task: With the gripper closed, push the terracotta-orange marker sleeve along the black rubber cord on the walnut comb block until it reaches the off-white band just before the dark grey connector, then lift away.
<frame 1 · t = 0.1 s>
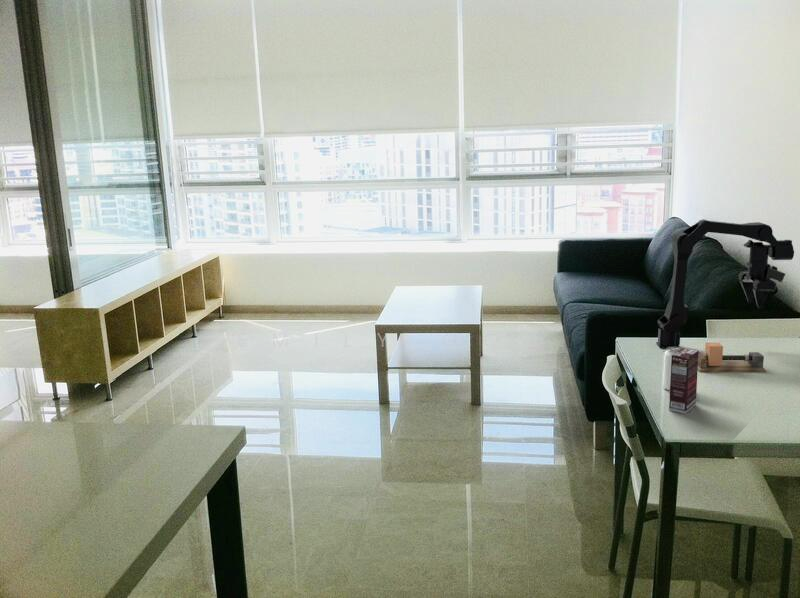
hand: (754, 305, 257), 15 cm above the table, tool pointing down, fingers open, 9 cm apart
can: (674, 389, 221), on the table
comb rail: (727, 367, 239), on the table
sleeve: (713, 354, 238), point 4 cm above the table, slide at 0.0 cm
supplement box: (682, 408, 206), on the table
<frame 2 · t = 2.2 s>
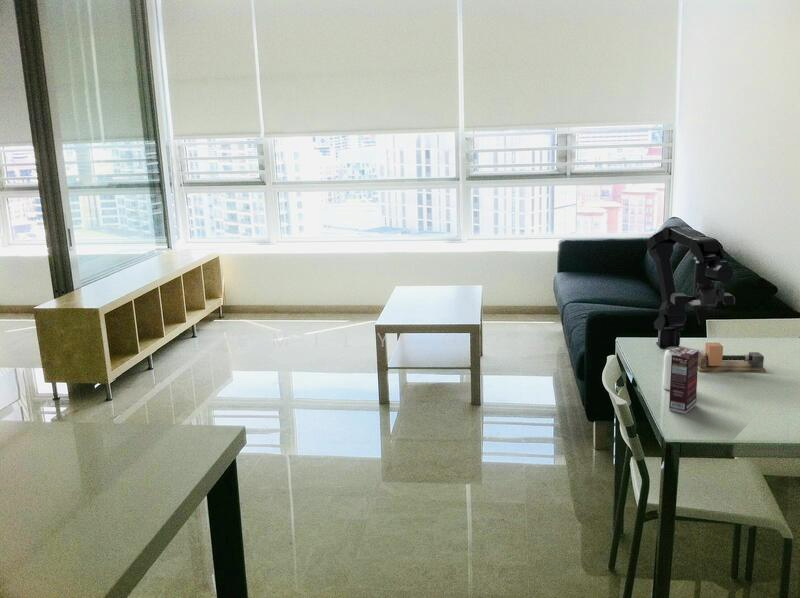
hand: (700, 324, 244), 12 cm above the table, tool pointing down, fingers closed
nothing on the table moved.
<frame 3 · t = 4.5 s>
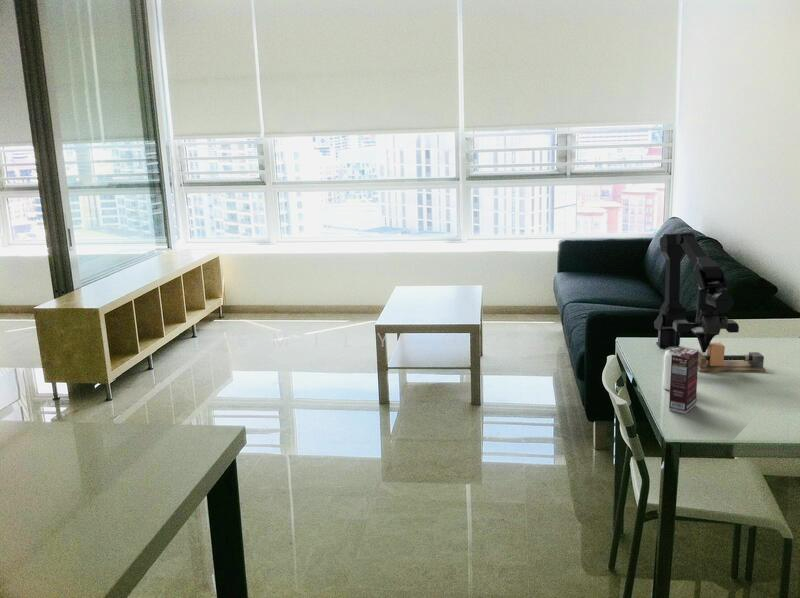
hand: (703, 352, 238), 5 cm above the table, tool pointing down, fingers closed
sleeve: (715, 354, 238), point 4 cm above the table, slide at 0.5 cm, touching gripper
everything else where it was.
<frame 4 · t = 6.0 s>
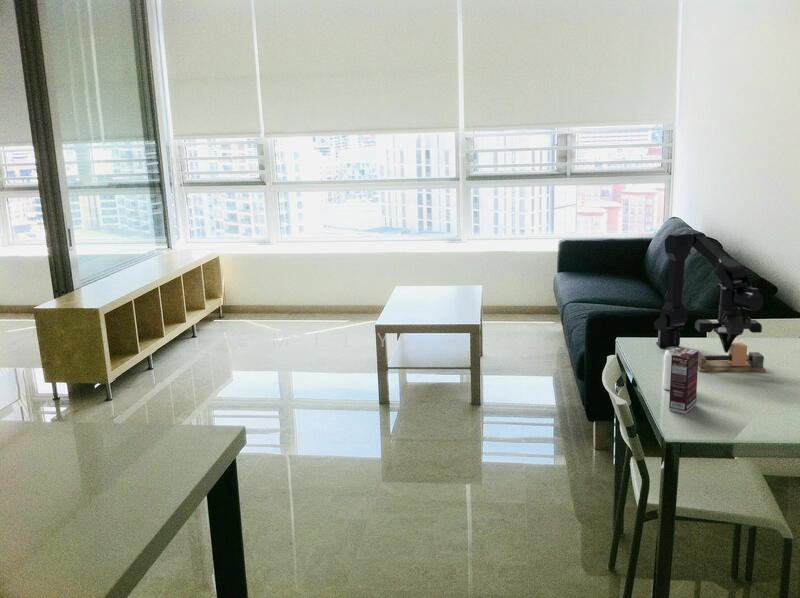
hand: (725, 352, 238), 5 cm above the table, tool pointing down, fingers closed
sleeve: (737, 354, 237), point 4 cm above the table, slide at 7.3 cm, touching gripper
everything else where it was.
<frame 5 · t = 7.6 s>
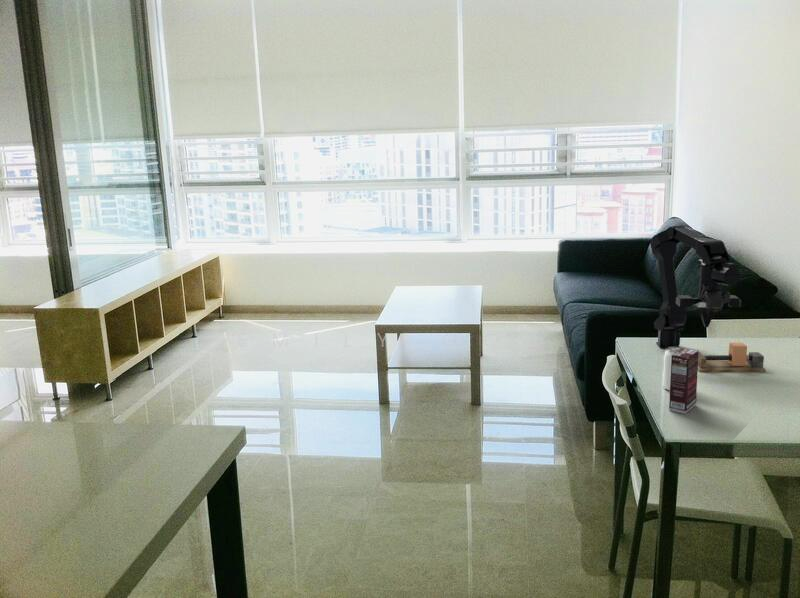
hand: (706, 327, 242), 12 cm above the table, tool pointing down, fingers closed
sleeve: (737, 354, 237), point 4 cm above the table, slide at 7.3 cm
everything else where it was.
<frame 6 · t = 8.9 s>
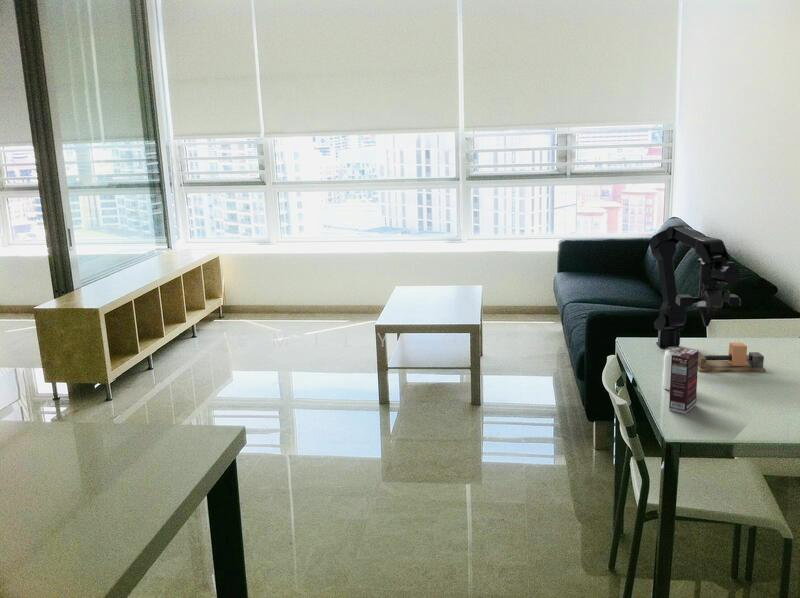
hand: (706, 326, 242), 12 cm above the table, tool pointing down, fingers closed
nothing on the table moved.
at the end: sleeve slide at 7.3 cm; sleeve touching nothing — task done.
